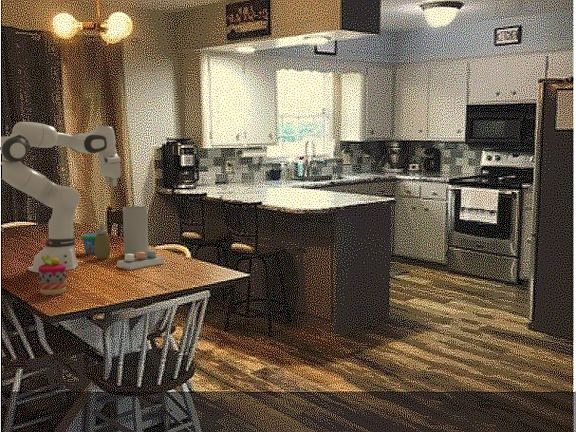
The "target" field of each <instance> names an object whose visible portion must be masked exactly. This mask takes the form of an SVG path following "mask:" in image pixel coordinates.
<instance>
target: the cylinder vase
mask: <svg viewBox="0 0 576 432" xmlns="http://www.w3.org/2000/svg"><path fill="white" fill-rule="evenodd" d="M122 219H123V220H122V222H123V223H122V224H123V254H124V255H125V254H134V257H136V252H145V256H147V250H149V229H148V227H149V226H148V225H149V224H148V223H149V220H148V219H149V218H148V206H141V205H140V206H139V205H138V206H137V205H134V206H133V205H132V206H123V207H122Z"/></svg>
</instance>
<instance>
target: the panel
mask: <svg viewBox="0 0 576 432" xmlns="http://www.w3.org/2000/svg"><path fill="white" fill-rule="evenodd" d="M164 262H165V261H164V257H162V256H157V255H156V257H153V258H148V257H147V255H145V259H142V260H138V259H136V257H134V261H131V262H127V261H125V259H120V260H117V261H116V267H117V268H120V269H124V270H128V271H131V270H133V271H134V270H137V269H142V268H147V267H153V266H158V265H163V264H164Z"/></svg>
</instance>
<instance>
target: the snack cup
mask: <svg viewBox="0 0 576 432" xmlns="http://www.w3.org/2000/svg"><path fill="white" fill-rule="evenodd" d="M96 235H97V232H96V233H95V232H94V233H85V234H82V235H81V236H80V237H81V239H82V242H83V243H82V244H83V247H84V252H85V254H86V255H95V252H94V248H95V236H96Z"/></svg>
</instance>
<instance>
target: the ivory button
mask: <svg viewBox="0 0 576 432" xmlns="http://www.w3.org/2000/svg"><path fill="white" fill-rule="evenodd" d="M134 258H135V256H134V254H124V260H125V261H127V262H131V261H134Z"/></svg>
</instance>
